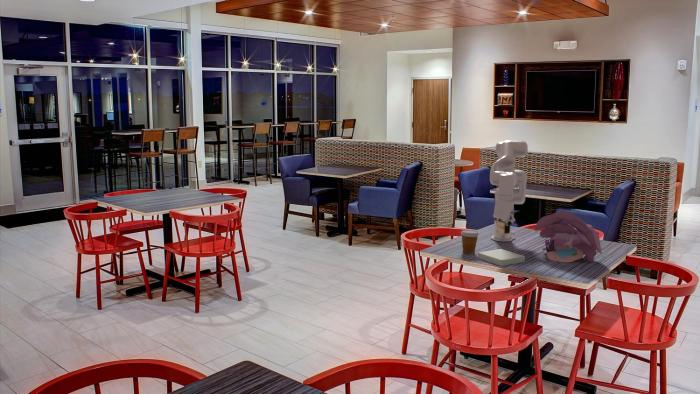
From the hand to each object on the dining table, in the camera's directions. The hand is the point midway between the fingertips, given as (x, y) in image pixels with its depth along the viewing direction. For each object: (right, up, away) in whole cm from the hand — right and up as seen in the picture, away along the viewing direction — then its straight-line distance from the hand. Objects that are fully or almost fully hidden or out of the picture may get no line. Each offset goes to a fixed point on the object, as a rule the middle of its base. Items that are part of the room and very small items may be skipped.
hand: (502, 231), depth 325 cm
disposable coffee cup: (-15, -13, +16) cm, 25 cm away
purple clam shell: (+36, -15, +10) cm, 40 cm away
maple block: (0, -1, 0) cm, 1 cm away
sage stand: (0, -15, +3) cm, 15 cm away
